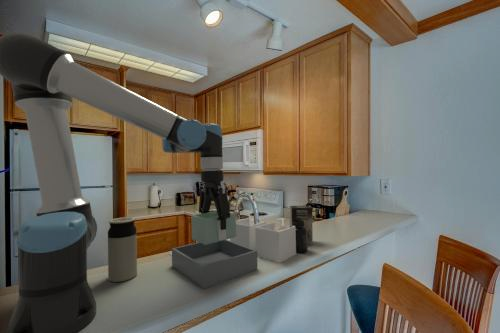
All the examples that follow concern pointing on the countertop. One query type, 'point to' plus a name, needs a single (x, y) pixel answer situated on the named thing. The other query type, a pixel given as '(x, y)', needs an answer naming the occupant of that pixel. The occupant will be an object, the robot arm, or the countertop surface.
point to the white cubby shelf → (266, 240)
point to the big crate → (213, 261)
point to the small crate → (211, 227)
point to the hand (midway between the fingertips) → (214, 236)
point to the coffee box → (306, 216)
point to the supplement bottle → (300, 236)
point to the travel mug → (122, 249)
